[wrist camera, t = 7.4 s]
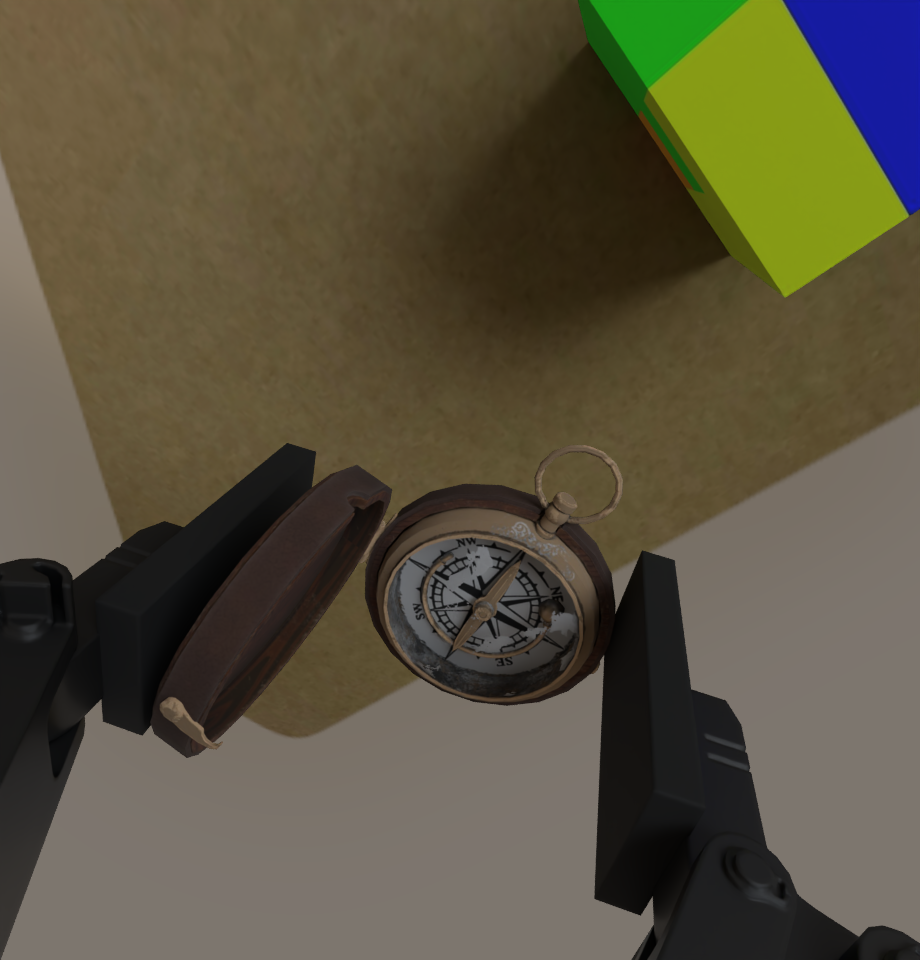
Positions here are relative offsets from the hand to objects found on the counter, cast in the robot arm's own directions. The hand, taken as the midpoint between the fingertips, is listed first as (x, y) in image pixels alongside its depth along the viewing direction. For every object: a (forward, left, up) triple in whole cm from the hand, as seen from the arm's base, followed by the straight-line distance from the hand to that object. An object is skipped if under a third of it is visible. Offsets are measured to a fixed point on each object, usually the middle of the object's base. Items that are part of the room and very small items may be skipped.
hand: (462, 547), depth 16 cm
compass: (0, 0, 0) cm, 1 cm away
